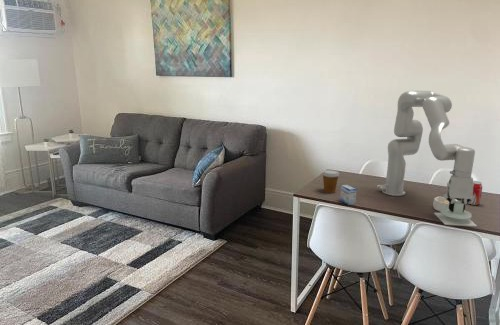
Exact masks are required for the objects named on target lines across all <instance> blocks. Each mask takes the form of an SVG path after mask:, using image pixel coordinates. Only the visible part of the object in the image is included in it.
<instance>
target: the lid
mask: <svg viewBox="0 0 500 325" xmlns="http://www.w3.org/2000/svg"><path fill="white" fill-rule="evenodd" d="M453 204H454V209H453V212H451V211H450V210H449V207H447V208H442V209H441V212H440V213H442V214H443V215H445V216H447V217H450V218H455V219H470V220H471V218H472V215H473V214H472V213H471V212H470V211H468V210H466V209H465V210H464V212H463V207H464V204H463V203H462V200H458V201H454V203H453Z"/></svg>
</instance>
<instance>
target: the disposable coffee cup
mask: <svg viewBox="0 0 500 325" xmlns="http://www.w3.org/2000/svg"><path fill="white" fill-rule="evenodd" d="M339 176H340V172H339V171H338V170H335V169H325V170H323V171H322V180H323V192H324V193H327V194H335V193H336V189H337V184H338V179H339Z"/></svg>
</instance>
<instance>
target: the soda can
mask: <svg viewBox="0 0 500 325" xmlns="http://www.w3.org/2000/svg"><path fill="white" fill-rule="evenodd" d="M482 191H483V184H482V182H480V181H478V180H473V195H474V197H475V198H474V199H472V200H470V201H469V202H468V205H470V204H471V206H477V205H479V204H480V202H481V197H482Z"/></svg>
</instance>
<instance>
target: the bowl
mask: <svg viewBox="0 0 500 325" xmlns="http://www.w3.org/2000/svg"><path fill="white" fill-rule="evenodd" d="M444 201H448V200H447V199H446V198H444V197H443V196H435V197H434V198H433V204H432V207H433V209H434V211H437V212H438V213H441V209H442V208H447V207H449V203H444ZM454 201H459V200H458V198H455V200H454ZM448 202H449V201H448Z"/></svg>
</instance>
